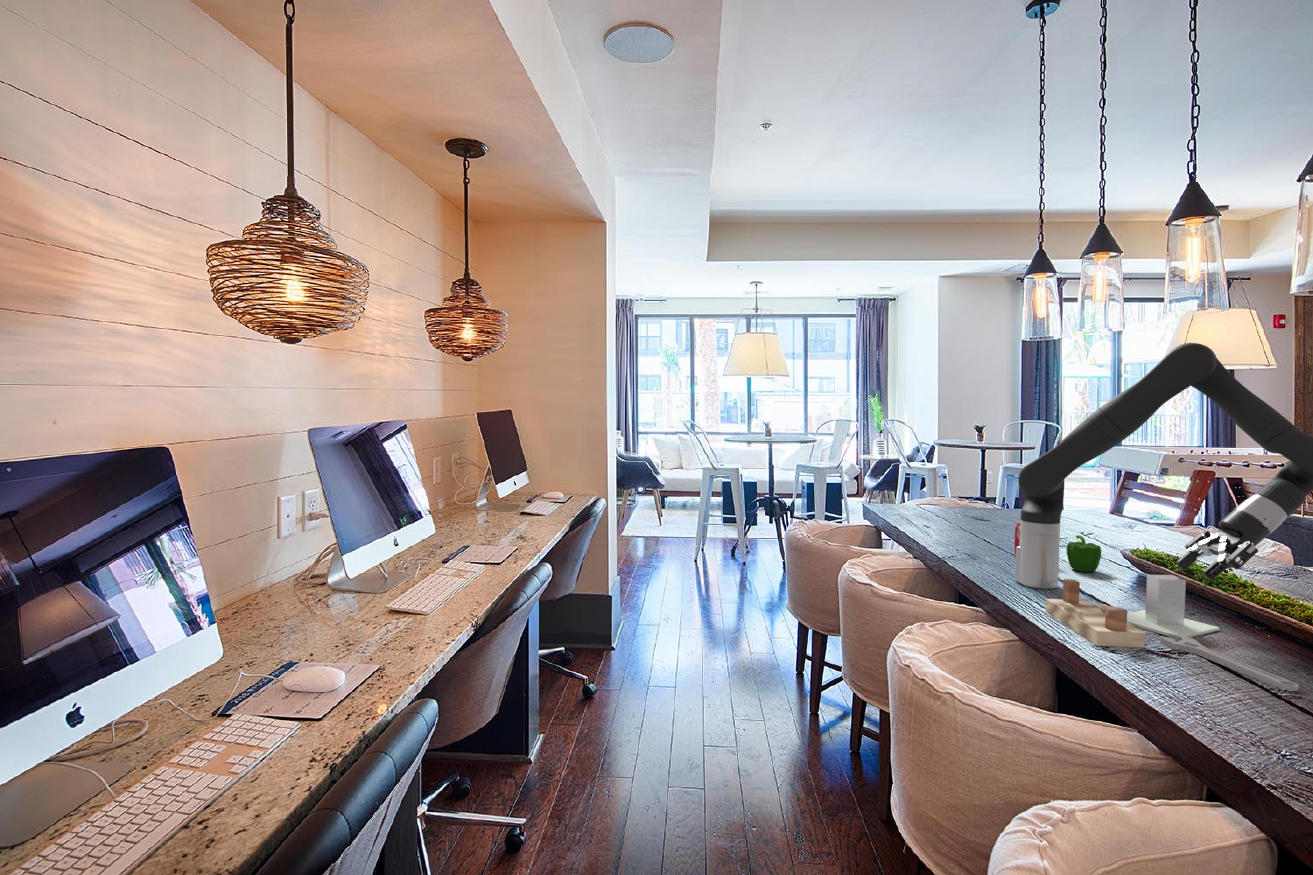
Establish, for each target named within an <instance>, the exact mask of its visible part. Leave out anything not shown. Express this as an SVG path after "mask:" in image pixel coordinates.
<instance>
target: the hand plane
mask: <svg viewBox="0 0 1313 875" xmlns="http://www.w3.org/2000/svg"><path fill="white" fill-rule="evenodd" d="M1080 585H1081V583H1080V581H1078V580H1077V579H1074V578H1073V579H1072V578H1071V579H1069V578H1063V579H1062V598H1060V599H1059V598H1045V612H1046V611H1047V612H1048V613H1047V612H1046V613H1047V614H1049V615H1050V614H1051V615H1050V616H1052V617H1053V618H1055V619H1056V618H1057V619H1056V620H1058V619H1059V620H1060V621H1059V620H1058V621H1059V622H1061V623H1062V624H1064V625H1065V626H1066V627H1068V626H1069V627H1068V628H1069V629H1071V630H1072V631H1073V632H1075V633H1077V634H1079V635H1080V636H1082V637H1083V638H1084V639H1086V640H1087V641H1089V642H1091V643H1092V644H1094V646H1096V647H1097V646H1099V647H1116V648H1117V647H1120V648H1121V647H1122V648H1146V632H1144V631H1143V630H1141V629H1139V627H1136V626H1132V625H1130V624H1129V623H1127V613H1128V610H1127V609H1125V608H1123V607H1117V606H1110V605H1108V604H1106V603H1100V606H1099V605H1096V604H1095V603H1093V602H1091V601H1089V600H1087V599H1080Z"/></svg>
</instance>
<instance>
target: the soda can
mask: <svg viewBox="0 0 1313 875" xmlns="http://www.w3.org/2000/svg"><path fill="white" fill-rule="evenodd" d="M1016 522H1017V523H1016V525H1015V527H1014V541H1013V556H1014V557H1013V558H1015V559H1016V547H1018V546H1020V522H1021V519H1020V520H1017V521H1016Z"/></svg>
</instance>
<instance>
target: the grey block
mask: <svg viewBox="0 0 1313 875" xmlns="http://www.w3.org/2000/svg"><path fill="white" fill-rule="evenodd" d="M1186 585H1187V579H1184V578H1182V577H1179V576H1176V575H1173V574H1146V588H1145V589H1146V593H1145V595H1146V596H1145V610H1146V611H1145V619H1147V620H1149V621H1151V622H1153V623H1155V624H1157V625H1184V618H1185V610H1186V609H1185V608H1186V606H1185V605H1186V588H1187V587H1186Z"/></svg>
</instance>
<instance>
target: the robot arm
mask: <svg viewBox="0 0 1313 875" xmlns="http://www.w3.org/2000/svg"><path fill="white" fill-rule="evenodd" d="M1190 387H1192V388H1194V389H1195V390H1197V391H1199V392H1200V393H1202V394H1204V395H1205V396H1206V397H1207V398H1208V399H1210V400H1211V401H1212V402H1213V403H1214V404H1216V406H1218V407H1219V408H1220V409H1221V410H1222V411H1223V412H1224V413H1225V414H1226V416H1228V417H1229V419H1231V421H1233V423H1234V424H1235V425H1236V426H1237V427H1238V428H1239V429H1241V430H1242V431H1243V432H1244V433H1245V434H1246V435H1247V436H1248V437H1250V438H1251V439H1252V440H1253V441H1254V442H1255V443H1256V444H1257V445H1259V446H1260V447H1261V448H1262V449H1264V450H1265V451H1266V452H1268V453H1270V454H1278V455H1281V456H1282V457H1284V458H1286V459H1287V460H1288V462H1287V463H1286V464H1285V465H1284V466H1282V467H1281V468H1280V469H1279V471H1278V472H1277V473H1276V474H1275V475H1274V477H1273V478H1271V480H1270V481H1269V482H1267V483H1265V484H1264V485H1263V486H1262V487H1261V488H1260V489H1258V490H1257V491H1256V492H1255V493H1254V494H1252V495H1250V497H1248V498H1247V499H1245V500H1244V501H1242V502H1241V503H1240V504H1239V505H1237V506H1236V507H1235V508H1234V509H1233V510H1232V511H1230V512H1229V513H1228V514H1227V515H1226V516H1225V517H1223V518H1222V519H1221V520H1219V522H1218V527H1219V528H1218V529H1219V530H1218V531H1216V532H1213V533H1211V532H1210V531H1209V530H1208V529H1203V530H1202V531H1201V532H1200V533H1198V534H1197V535H1196V536H1194V537H1193V538H1192V539H1191V540H1189V541H1188V542H1187V543H1185V545H1184V546H1183V547H1184V548H1185V549H1186V551H1187V552H1186V553H1185V554H1183V556H1181V557H1180V558H1179V559H1178V560H1176V562H1175V563H1176V565H1177V566H1178V568H1180V569H1182V570H1185V571H1186V570H1187V569H1188V568H1189V567H1190V566H1191V565H1192V564H1194V563H1195V562H1196V561H1197V560H1198V559H1200V558H1202V557H1212V556H1214V555H1215V556H1218V557H1217V561H1216V560H1214V561H1213V562H1212V563H1211V564H1209V565H1208V566H1207V567H1206V568H1205V569H1204V570H1202V575H1203V576H1204V577H1205V578H1206V579H1207V580H1210V581H1213V580H1214V579H1215V578H1217V577H1218V576H1219V575H1220V574H1222V573H1223V572H1224V571H1225V570H1230V569H1235V570H1239V569H1241V568H1242V567H1243V566H1244V565H1245V564H1246V563H1247V562H1248V561H1250V559H1252V558H1253V557H1254V556H1256V554H1257V553H1259V549H1258V548H1257V547H1256V546H1258V544H1260V543H1261V542H1263V541H1264V540H1265V539H1266V538H1267V537H1268V536H1270V535H1271V534H1272V533H1273V532H1274V531H1275V530H1277V529H1278V528H1279V527H1280V526H1281V525H1282V524H1283V522H1284V521H1285V520H1286V519H1287V518H1289V517H1290V516H1291V515H1292V514H1293V513H1295V511H1297V510H1298V509H1299V508H1300V507H1301V506H1302V505H1303V504H1304V503H1305V501H1306V499H1307V496H1309V494H1310V493H1312V492H1313V436H1312V435H1309V434H1308V433H1305V432H1304V431H1302V430H1300V429H1299V428H1298V427H1297V426H1295V425H1294V424H1293V423H1292V422H1291V421H1290V420H1289V419H1287V418H1286V417H1285V416H1283V415H1282V413H1280V412H1279V411H1277V409H1275V408H1273V406H1271V405H1269V404H1268V403H1267V402H1265V401H1264V400H1263V399H1261V398H1260V397H1258V395H1256V394H1255V393H1253V392H1252V391H1251V390H1249V389H1248V388H1247V387H1246V386H1244V385H1243V384H1242V383H1241V382H1240V381H1238V380H1237V378H1236V377H1234V376H1233V375H1232V374H1231V373H1230V372H1229V371H1228V370H1227V369H1226V367H1225V366H1224V364H1223V363H1221V361H1220V360H1219V358H1218V357H1217V355H1216V354H1215V352H1214V351H1213V349H1211V348H1210V347H1209V346H1207V345H1205V344H1202V343H1196V342H1187V343H1181V344H1179V345H1177V346H1175V347H1173V348H1172V349H1171V350H1170V351H1169V352H1168V353H1166V355H1165V356H1164V357H1163V358H1162V359H1161V360H1160V361H1159V362H1158V363H1157V364H1156V365H1155V366H1154V367H1153V368H1152V369H1151V370H1149V372H1147V374H1146V375H1144V376H1143V377H1142V378H1141V379H1140V380H1138V381H1137V382H1136V383H1134V384H1132V385H1131V386H1130V387H1128V388H1126V389H1125V390H1123V391H1121V392H1120V393H1119V394H1117V395H1116V396H1114V397H1113V398H1111V399H1110V400H1109V401H1107V402H1106V403H1104V404H1102V406H1100V407H1099V408H1098V409H1096V410H1095V411H1093V413H1092V414H1090V415H1088V417H1086V418H1085V419H1084V420H1083V421H1081V422H1080V424H1078V425H1077V426H1076V427H1075V428H1073V430H1072V431H1071V432H1070V433H1068V434H1067V435H1066V436H1064V438H1063V439H1062V440H1061V441H1060V442H1059V443H1057V445H1055V446H1054V447H1053V448H1051V449H1049V450H1048V451H1047V452H1045V453H1044V454H1042V455H1040V456H1039V457H1038V458H1036V459H1034V460H1033V461H1031V462H1029V463H1027V464H1025V465H1024V466H1023V467H1022V469H1021V470H1020V472H1019V474H1018V479H1017V480H1018V481H1017V482H1018V486H1019V488H1020V490H1021V491H1022V492H1023V493H1024V502H1023V506H1022V507H1021V510H1020V520H1021V522H1020V546H1018V547H1016V558H1015V568H1014V569H1015V570H1014V571H1015V572H1014V582H1016V583H1019V584H1020V583H1021V584H1020V585H1022V584H1023V585H1022V586H1026V587H1029V588H1035V589H1042V590H1043V589H1045V590H1048V589H1049V590H1050V589H1051V590H1052V589H1053V590H1054V589H1057V588H1059V570H1060V569H1059V568H1060V567H1059V566H1060V541H1061V539H1060V538H1061V516H1062V513H1063V509H1064V501H1065V500H1064V498H1065V479H1067V477H1068V476H1070V475H1072V473H1073V472H1074V471H1076V470H1077V469H1078V468H1080V467H1081V466H1084V465H1085V464H1086V463H1088V462H1090V461H1092V460H1094V459H1096V458H1098V457H1099V456H1101V455H1104V454H1105V453H1106V452H1108V451H1110V450H1112V449H1113V448H1114V447H1116V446H1117V445H1119V444H1121V442H1122V441H1124V440H1126V439H1127V438H1128V437H1129V436H1131V435H1132V434H1133V433H1135V432H1136V431H1137V430H1138V429H1140V428H1141V427H1142V426H1143V425H1144V424H1145V423H1146V422H1147V421H1148V420H1149V419H1150V418H1151V417H1152V416H1153V415H1154V414H1155V413H1156V412H1157V411H1158V410H1159V409H1160V408H1161V407H1162V406H1163V405H1165V403H1167V402H1168V401H1170V400H1171V399H1172V398H1174V397H1176V396H1177V395H1179V394H1181V392H1183V391H1185V390H1187V389H1188V388H1190ZM1195 544H1196V545H1195ZM1238 558H1239V560H1238V561H1237V559H1238Z"/></svg>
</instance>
